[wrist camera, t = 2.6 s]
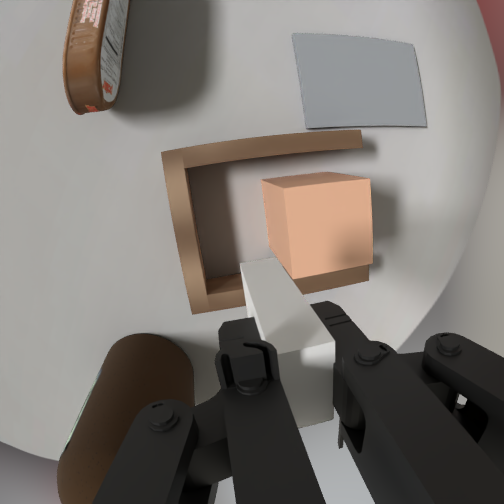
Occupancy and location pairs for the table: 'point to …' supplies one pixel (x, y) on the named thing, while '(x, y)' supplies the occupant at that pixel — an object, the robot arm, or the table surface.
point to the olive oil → (120, 409)
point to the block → (319, 222)
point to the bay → (179, 194)
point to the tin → (94, 53)
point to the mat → (358, 81)
